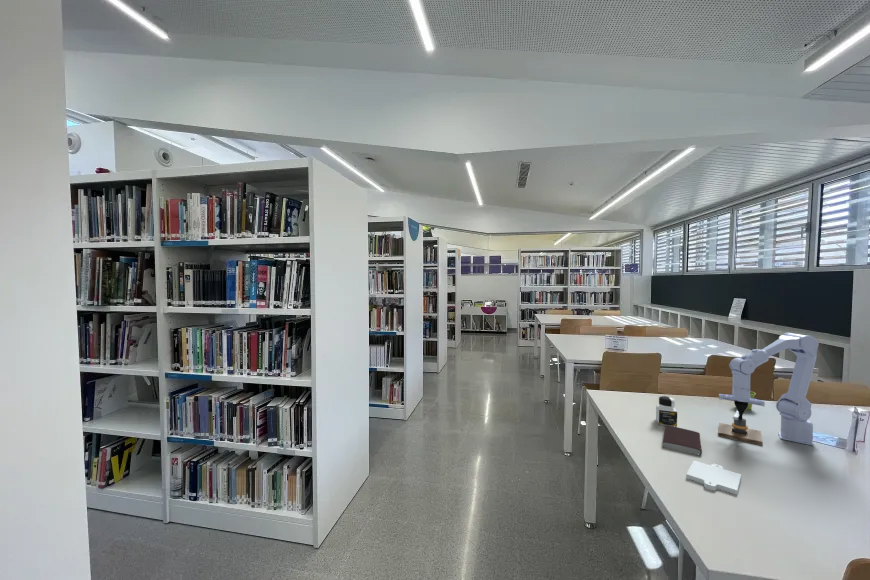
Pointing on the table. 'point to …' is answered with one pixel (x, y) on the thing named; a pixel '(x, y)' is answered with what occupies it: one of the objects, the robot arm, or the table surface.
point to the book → (682, 440)
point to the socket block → (750, 436)
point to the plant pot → (751, 397)
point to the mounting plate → (714, 477)
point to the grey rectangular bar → (736, 415)
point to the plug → (740, 426)
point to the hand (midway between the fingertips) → (740, 419)
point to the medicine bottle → (666, 411)
